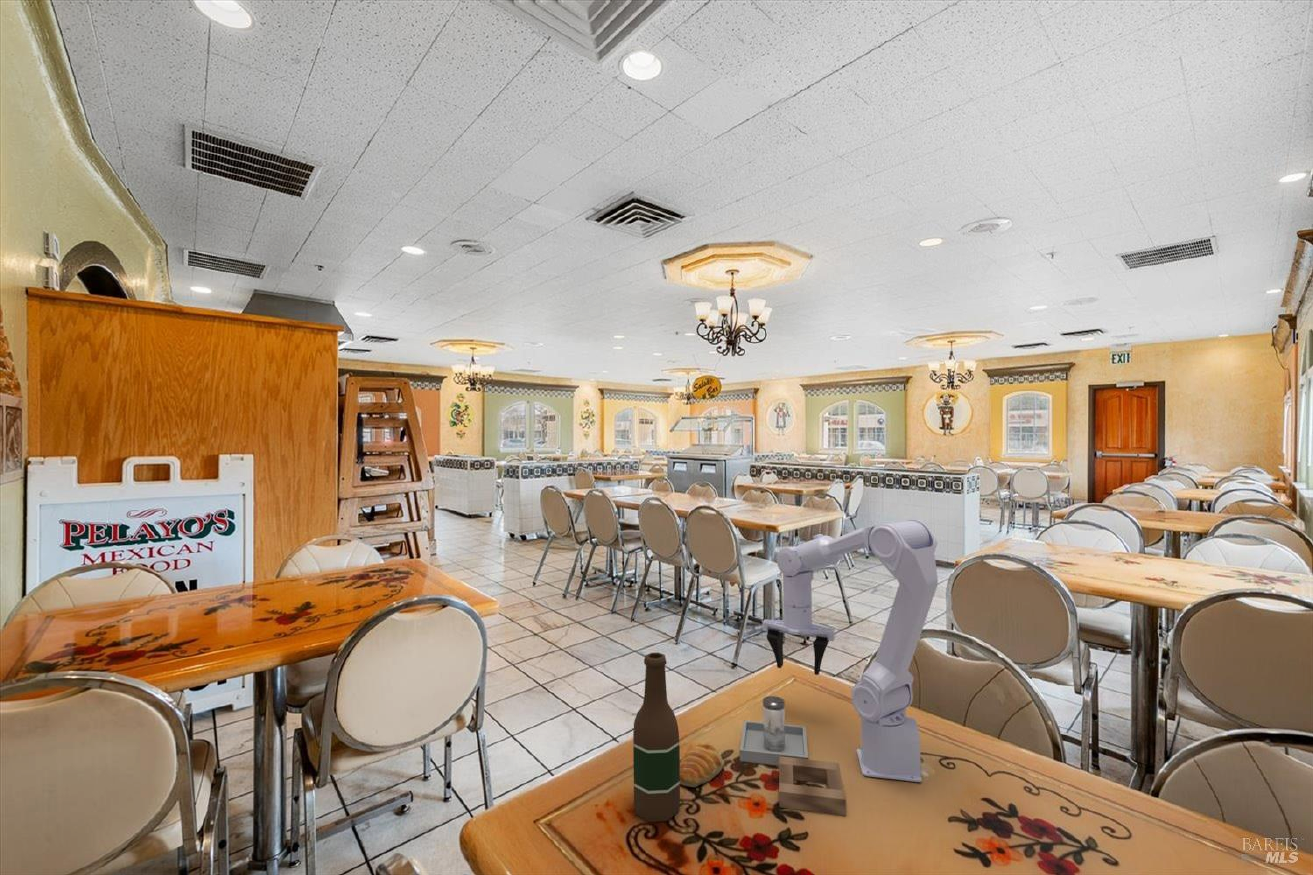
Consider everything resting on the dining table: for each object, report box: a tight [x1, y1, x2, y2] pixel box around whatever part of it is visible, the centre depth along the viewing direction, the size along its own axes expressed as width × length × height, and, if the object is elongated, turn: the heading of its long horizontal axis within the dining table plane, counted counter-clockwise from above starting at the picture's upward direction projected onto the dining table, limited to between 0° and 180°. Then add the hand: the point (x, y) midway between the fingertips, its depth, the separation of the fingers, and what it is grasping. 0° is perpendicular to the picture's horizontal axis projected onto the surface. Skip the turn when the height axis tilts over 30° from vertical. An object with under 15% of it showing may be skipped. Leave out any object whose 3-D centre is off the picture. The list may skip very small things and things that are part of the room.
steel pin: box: [762, 695, 786, 752], centre depth 103 cm, size 4×4×8 cm
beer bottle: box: [632, 652, 681, 823], centre depth 87 cm, size 8×8×24 cm
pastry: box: [680, 742, 725, 788], centre depth 96 cm, size 9×7×4 cm
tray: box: [739, 720, 809, 767], centre depth 104 cm, size 12×11×2 cm
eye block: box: [778, 756, 847, 817], centre depth 91 cm, size 10×10×2 cm
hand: (798, 669), depth 114 cm, fingers open, 7 cm apart
